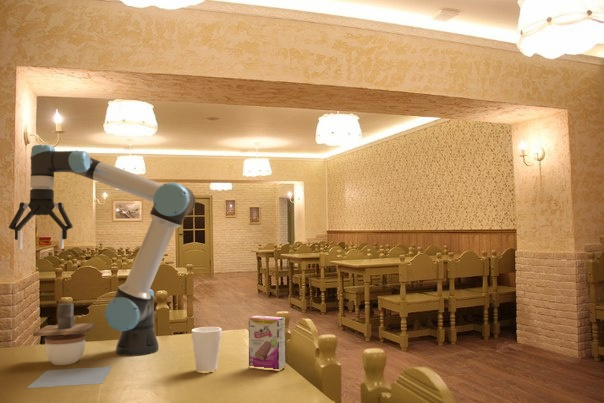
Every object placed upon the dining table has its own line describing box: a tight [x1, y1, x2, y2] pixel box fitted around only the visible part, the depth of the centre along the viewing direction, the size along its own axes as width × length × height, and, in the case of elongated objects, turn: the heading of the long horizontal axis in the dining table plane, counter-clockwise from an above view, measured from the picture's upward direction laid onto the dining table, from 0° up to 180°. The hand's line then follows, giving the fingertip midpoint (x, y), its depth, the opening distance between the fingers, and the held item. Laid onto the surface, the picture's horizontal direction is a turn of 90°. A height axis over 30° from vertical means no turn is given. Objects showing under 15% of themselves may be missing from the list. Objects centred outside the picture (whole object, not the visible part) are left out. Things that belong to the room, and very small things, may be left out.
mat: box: [27, 366, 114, 389], centre depth 159 cm, size 20×20×1 cm
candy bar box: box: [248, 315, 286, 369], centre depth 168 cm, size 11×5×16 cm, turn 65°
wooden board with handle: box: [32, 302, 96, 337], centre depth 178 cm, size 16×16×9 cm
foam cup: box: [191, 326, 223, 372], centre depth 166 cm, size 10×9×13 cm
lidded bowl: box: [44, 333, 87, 366], centre depth 177 cm, size 13×13×11 cm
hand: (40, 249), depth 183 cm, fingers open, 13 cm apart
